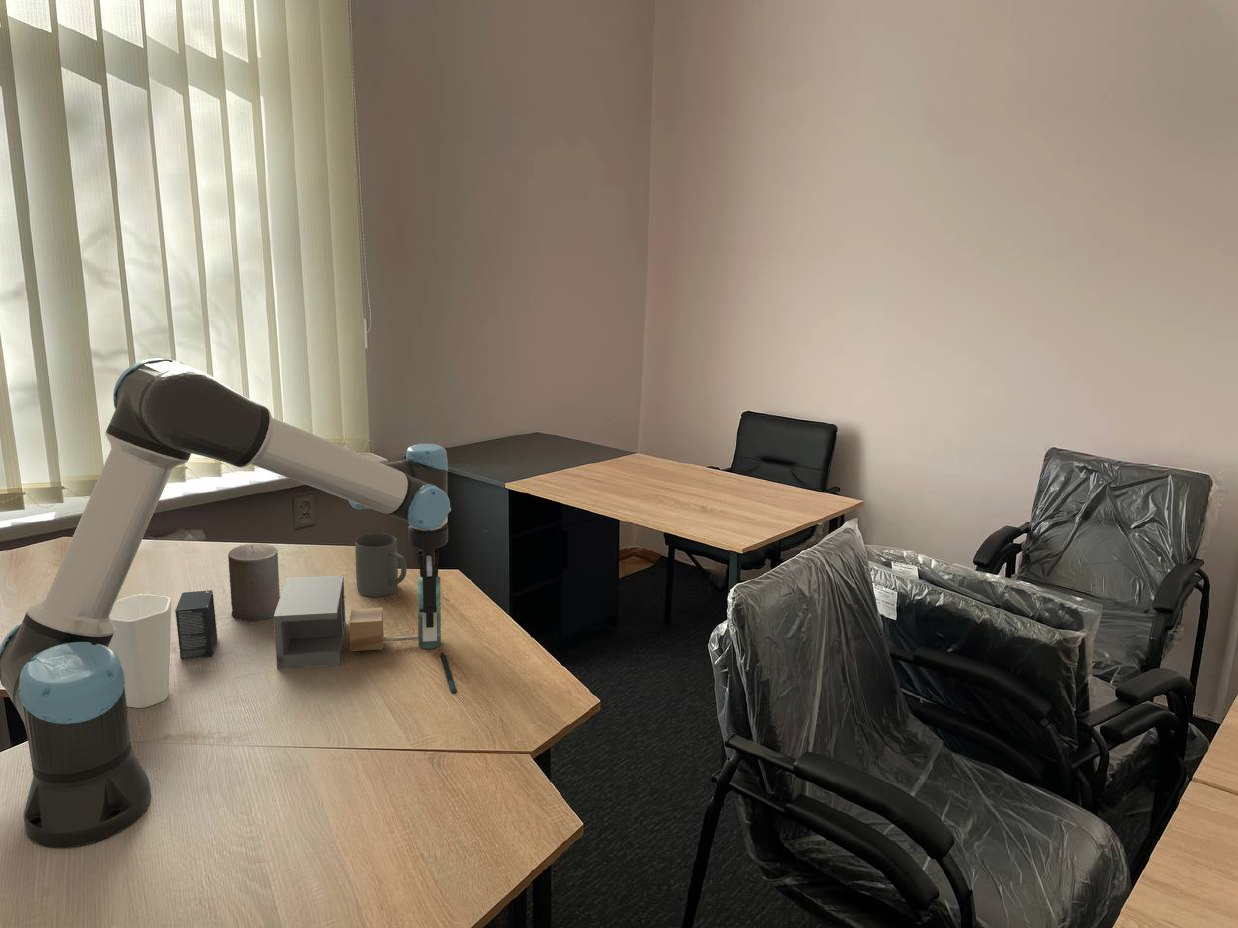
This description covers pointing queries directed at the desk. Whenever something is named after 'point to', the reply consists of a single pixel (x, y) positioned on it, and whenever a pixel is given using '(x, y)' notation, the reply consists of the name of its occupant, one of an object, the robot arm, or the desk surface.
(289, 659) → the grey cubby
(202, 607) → the box
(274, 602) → the pillar candle
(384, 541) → the mug
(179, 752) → the desk surface
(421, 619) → the tethered cylinder
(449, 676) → the pen
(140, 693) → the cup
